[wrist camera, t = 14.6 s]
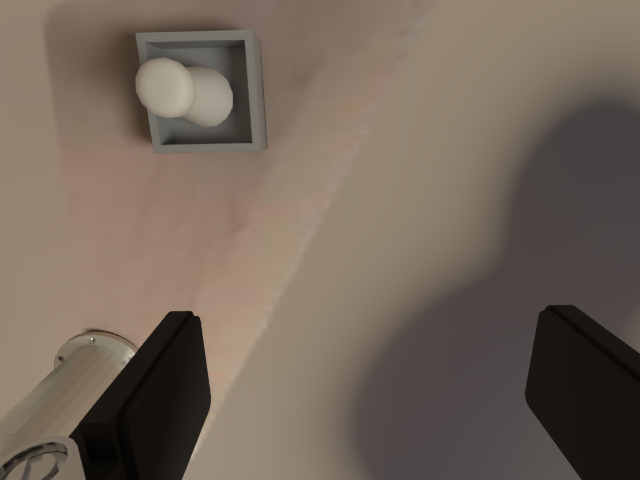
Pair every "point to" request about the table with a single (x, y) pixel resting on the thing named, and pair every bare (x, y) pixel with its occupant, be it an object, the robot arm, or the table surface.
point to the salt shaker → (184, 92)
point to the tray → (231, 62)
